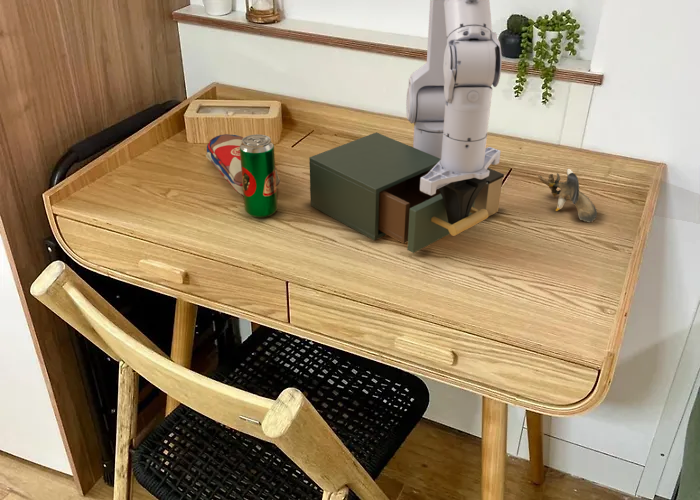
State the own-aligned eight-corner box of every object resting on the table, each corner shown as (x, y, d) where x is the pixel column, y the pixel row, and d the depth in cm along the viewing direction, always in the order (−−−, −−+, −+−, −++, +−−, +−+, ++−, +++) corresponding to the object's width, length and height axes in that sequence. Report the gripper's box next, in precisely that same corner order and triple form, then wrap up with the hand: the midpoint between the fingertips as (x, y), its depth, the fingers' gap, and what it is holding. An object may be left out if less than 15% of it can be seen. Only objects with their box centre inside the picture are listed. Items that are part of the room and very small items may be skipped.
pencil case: (213, 207, 112) (210, 178, 109) (205, 155, 128) (202, 129, 125) (283, 199, 114) (281, 171, 112) (266, 150, 130) (264, 124, 128)
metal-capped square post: (480, 203, 113) (485, 166, 110) (499, 211, 111) (504, 174, 108) (466, 210, 111) (470, 173, 108) (485, 219, 109) (489, 181, 106)
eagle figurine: (526, 198, 112) (569, 213, 105) (545, 156, 112) (589, 168, 104) (556, 213, 117) (598, 228, 109) (574, 173, 116) (618, 185, 109)
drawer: (498, 233, 104) (504, 192, 100) (439, 267, 96) (443, 224, 93) (407, 191, 115) (409, 153, 111) (347, 218, 107) (348, 178, 104)
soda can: (272, 220, 108) (267, 148, 102) (240, 217, 109) (234, 145, 103) (281, 205, 113) (277, 134, 106) (251, 202, 113) (245, 131, 107)
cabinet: (439, 208, 112) (443, 159, 107) (374, 240, 104) (376, 189, 99) (375, 178, 121) (376, 132, 116) (310, 205, 112) (309, 157, 108)
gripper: (453, 158, 86) (444, 252, 93) (523, 127, 95) (510, 216, 102) (410, 141, 91) (405, 232, 98) (481, 112, 99) (471, 199, 106)
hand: (456, 223), depth 100 cm, fingers closed, pressing on drawer
